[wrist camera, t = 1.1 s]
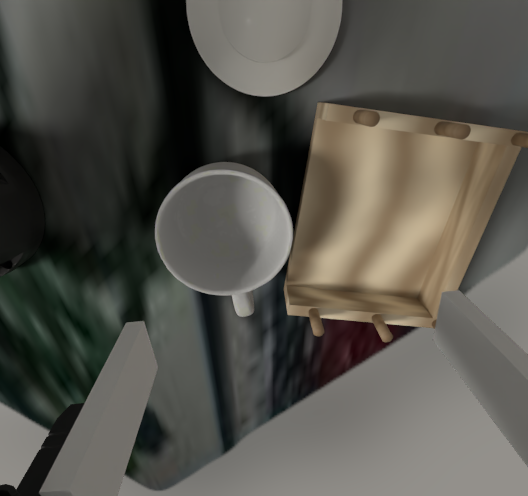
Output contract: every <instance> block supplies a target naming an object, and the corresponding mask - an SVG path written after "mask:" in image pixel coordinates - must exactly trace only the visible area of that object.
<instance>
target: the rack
mask: <svg viewBox="0 0 528 496" xmlns="http://www.w3.org/2000/svg"><path fill="white" fill-rule="evenodd" d="M521 147H525V148H528V132H525V131H518V130H511V129H504V128H497V127H490V126H483V125H476V124H469V123H462V122H455V121H448V120H441V119H434V118H427V117H420V116H413V115H406V114H400V113H393V112H386V111H379V110H372V109H365V108H358V107H351V106H344V105H337V104H330V103H320V102H318V104H317V110H316V115H315V121H314V126H313V132H312V137H311V143H310V148H309V154H308V159H307V165H306V170H305V176H304V181H303V187H302V192H301V198H300V203H299V208H298V214H297V219H296V225H295V230H294V236H293V241H292V247H291V252H290V258H289V263H288V269H287V274H286V280H285V285H284V293H285V300H286V307H287V313H288V315H297V316H307V317H310V321H311V325H312V329H313V333H314V335H315V336H321V335H323V334H324V328H323V325H322V322H321V318H329V319H340V320H351V321H362V322H373V323H374V325H375V327H376V329H377V331H378V333H379V335H380V337H381V339H382V340H383V341H384V342H390V341H391V340H392V339H393V336H392V334H391V332H390V331H389V329H388V327H387V325H386V324H394V325H405V326H416V327H427V328H434V329H435V325H436V320H437V315H438V310H439V305H440V299H441V294H442V292H446V291H456V290H458V288H459V285H460V283H461V281H462V279H463V277H464V274H465V272H466V270H467V268H468V265H469V263H470V261H471V259H472V257H473V254H474V252H475V250H476V248H477V245H478V243H479V241H480V239H481V236H482V234H483V232H484V230H485V228H486V225H487V223H488V221H489V219H490V216H491V214H492V212H493V210H494V207H495V205H496V203H497V201H498V199H499V196H500V194H501V192H502V190H503V187H504V185H505V183H506V181H507V178H508V176H509V174H510V172H511V170H512V167H513V165H514V163H515V161H516V158H517V156H518V154H519V152H520V149H521Z"/></svg>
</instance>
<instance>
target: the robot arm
mask: <svg viewBox="0 0 528 496" xmlns="http://www.w3.org/2000/svg"><path fill="white" fill-rule="evenodd" d="M44 230H45V215H44V209H43V205H42V201H41V199H40V196H39V193H38V191H37V189H36V187H35V185H34V183H33V182H32V180H31V178H30V177H29V176H28V174H27V173H26V171H25V170H24V169H23V168H22V166H21V165H20V164H19V163H18V162H17V161H16V160H15V159H14V158H13V157H12V156H11V155H10V154H9V153H8V152H7V151H6V150H4V149H3V148H2V147H1V146H0V277H1V276H3V275H5V274H7V273H9V272H11V271H13V270H14V269H16V268H17V267H18V266H20V265H21V264H23V263H24V262H25V261H27V260H28V259H29V258H30V257H31V256H32V255H33V254H34V253H35V252H36V251H37V249H38V248H39V246H40V244H41V242H42V239H43V235H44ZM433 341H434V343H435V344H436V345H437V346H438V348H439V349H440V351H441V352H442V353H443V355H444V356H445V357H446V359H447V360H448V361H449V362H450V364H451V365H452V367H453V368H454V369H455V371H456V372H457V373H458V374H459V376H460V377H461V378H462V380H463V381H464V382H465V384H466V385H467V387H468V388H469V389H470V391H471V392H472V393H473V395H474V396H475V397H476V399H478V401H479V402H480V404H481V405H482V406H483V408H484V409H485V411H486V412H487V413H488V415H489V416H490V417H491V419H492V420H493V421H494V423H495V424H496V425H497V426H498V428H499V429H500V431H501V432H502V433H503V435H504V436H505V437H506V439H507V440H508V441H509V443H510V444H511V445H512V447H513V448H514V449H515V451H516V452H517V453H518V455H519V456H520V457H521V458H522V460H523V461H524V463H525V464H526V465H527V466H528V354H527V353H526V352H525V351H524V350H523V349H521V348H520V347H519V346H518V345H517V344H516V343H515V342H514V341H513V340H512V339H511V338H510V337H509V336H508V335H506V334H505V333H504V332H503V331H502V330H501V329H500V328H499V327H498V326H497V325H496V324H495V323H494V322H492V320H490V319H489V318H488V317H487V316H486V315H485V314H484V313H483V312H482V311H481V310H480V309H479V308H478V307H477V306H475V305H474V304H473V303H472V302H471V301H470V300H469V299H468V298H467V297H466V296H465V295H464V294H463V293H462V292H461V291H459V290H456V291H446V292H442V294H441V299H440V305H439V310H438V315H437V320H436V325H435V331H434V336H433ZM157 369H158V365H157V362H156V359H155V356H154V352H153V349H152V346H151V343H150V339H149V336H148V333H147V330H146V326H145V323H144V321H139V322H129V323H126V324H125V326H124V328H123V330H122V332H121V334H120V336H119V338H118V340H117V342H116V344H115V346H114V348H113V350H112V351H111V353H110V355H109V357H108V359H107V361H106V363H105V365H104V367H103V369H102V371H101V373H100V375H99V377H98V379H97V381H96V383H95V384H94V386H93V388H92V390H91V392H90V394H89V396H88V398H87V400H86V402H85V403H81V404H71V405H70V406H69V407H68V408H67V409H66V410H65V411H64V412H63V413H62V414H61V415H60V416H59V417H58V418H57V420H56V422H55V423H54V425H53V427H52V429H51V430H50V432H49V436H48V437H46V439H45V441H44V443H43V444H42V446H41V450H39V452H38V453H37V455H36V457H35V458H34V460H33V462H32V463H31V466H30V467H29V469H28V470H27V472H26V474H25V476H24V477H23V479H22V481H21V483H20V484H19V486H18V488H17V489H15V488H14V486H11V485H7V484H5V485H0V496H117V495H118V492H119V489H120V486H121V483H122V479H123V477H124V473H125V470H126V467H127V464H128V461H129V458H130V454H131V451H132V448H133V445H134V442H135V439H136V435H137V432H138V429H139V426H140V423H141V420H142V417H143V413H144V410H145V407H146V404H147V401H148V398H149V394H150V391H151V388H152V385H153V382H154V379H155V376H156V372H157Z"/></svg>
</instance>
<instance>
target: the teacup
mask: <svg viewBox="0 0 528 496" xmlns="http://www.w3.org/2000/svg"><path fill="white" fill-rule="evenodd" d="M155 240H156V245H157V250H158V253H159V254H160V257H161V259H162V260H163V262H164V264H165V265H166V267H167V269H168V270H169V271H170V272H171V273H172V274H173V275H174V276H175V277H176V278H177V279H178V280H179V281H181V282H182V283H184V284H185V285H187V286H188V287H190V288H192V289H194V290H197V291H200V292H202V293H207V294H213V295H232V298H233V303H234V307H235V311H236V313H237V315H238V316H241V317H245V316H249V315H251V314H253V312H254V300H253V294H252V290H254V289H256V288H258V287H260V286H262V285H264V284H265V283H267V282H268V281H270V280H271V279H272V278H273V277H274V276H275V275H276V274H277V273H278V272H279V271H280V270H281V269H282V267H283V266H284V264H285V262H286V260H287V258H288V256H289V254H290V251H291V246H292V241H293V224H292V219H291V216H290V213H289V211H288V208H287V206H286V204H285V203H284V201H283V199H282V198H281V197H280V195H279V194H278V193H277V191H276V190H275V188H274V187H273V186H272V184H271V183H270V182H269V181H268V180H267V179H266V178H265V177H264V176H263V175H261V174H260V173H259V172H257V171H255V170H254V169H252V168H250V167H247V166H245V165H242V164H238V163H233V162H217V163H212V164H208V165H205V166H202V167H200V168H198V169H196V170H194V171H193V172H191V173H190V174H189V175H187V176H186V177H185V178H184V179H183V180H182V181H181V182H179V183H178V184H177V185H176V186H175V187H174V188H173V189H172V190H171V191H170V192H169V194H168V195H167V196H166V198H165V199H164V201H163V203H162V204H161V206H160V209H159V211H158V214H157V218H156V223H155Z"/></svg>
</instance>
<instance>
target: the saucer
mask: <svg viewBox="0 0 528 496" xmlns="http://www.w3.org/2000/svg"><path fill="white" fill-rule="evenodd" d="M186 10H187V17H188V24H189V28H190V32H191V35H192V38H193V41H194V43H195V46H196V48H197V50H198V52H199V54H200V56H201V57H202V59H203V60H204V62H205V63H206V65H207V66H208V67H209V69H210V70H211V71H212V72H213V73H214V74H215V75H216V76H217V77H218V78H219V79H220V80H221V81H223V82H224V83H226V84H227V85H228V86H230V87H232V88H234V89H236V90H237V91H240V92H243V93H245V94H249V95H254V96H275V95H280V94H284V93H287V92H289V91H292V90H294V89H296V88H297V87H299V86H301V85H302V84H304V83H305V82H306V81H308V80H309V79H310V78H311V77H312V76H313V75H314V74H315V73H316V72H317V71H318V70H319V69H320V67H321V66H322V65H323V64H324V62H325V60H326V59H327V57H328V56H329V54H330V52H331V50H332V48H333V46H334V43H335V40H336V38H337V35H338V31H339V27H340V23H341V16H342V0H186Z"/></svg>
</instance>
